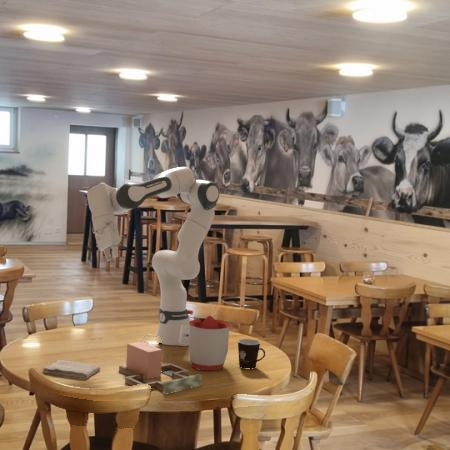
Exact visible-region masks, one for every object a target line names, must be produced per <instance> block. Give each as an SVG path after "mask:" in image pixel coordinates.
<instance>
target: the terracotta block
mask: <svg viewBox="0 0 450 450" xmlns="http://www.w3.org/2000/svg"><path fill="white" fill-rule="evenodd" d="M162 356H163V349H161V348H159V347H156V346H153V345H151V344H148V343H145V342H143V341H135V342H129V343H127V344H126V360H125V361H126V362H125V364H126V365H125V367H127V368H129V369H131V370H133V371H136V372H138V373H140V374H143V377H144V378H143V379H145V378H147V379H146V380H150V379H149V378H152V379H155V378H154V377H156V378H159V376H162V373H161V365H162V361H163V360H162Z"/></svg>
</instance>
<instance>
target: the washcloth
mask: <svg viewBox="0 0 450 450" xmlns="http://www.w3.org/2000/svg"><path fill="white" fill-rule="evenodd" d="M100 371H101V367H100V366H99V365H96V364H90V363H85V362H78V361H71V360H66V359H58V360H55V361H54V362H53V363H50V364H48V365H46V366H45V367H43V368H42V373H44V374H49V375H53V376H60V377H67V378H73V379H81V380H87V379H89V378H90V377H91V376H93V375H95V374H97V373H98V372H100Z"/></svg>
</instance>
